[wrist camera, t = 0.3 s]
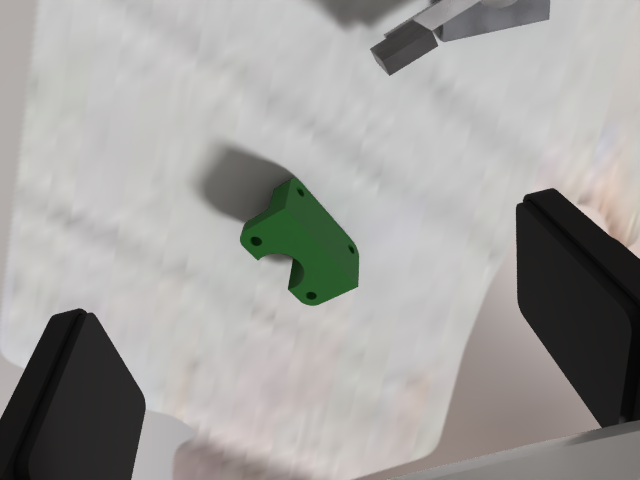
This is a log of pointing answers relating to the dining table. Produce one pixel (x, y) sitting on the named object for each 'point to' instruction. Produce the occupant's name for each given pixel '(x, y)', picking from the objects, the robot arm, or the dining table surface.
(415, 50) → the crank
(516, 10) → the winch base
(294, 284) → the clamp
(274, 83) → the dining table surface
